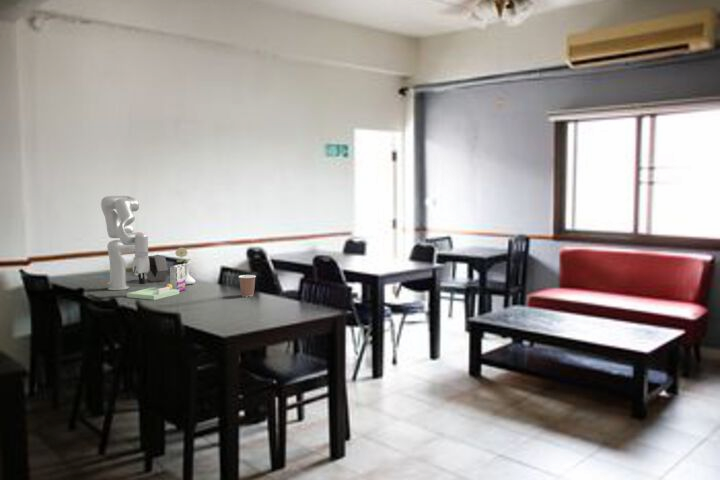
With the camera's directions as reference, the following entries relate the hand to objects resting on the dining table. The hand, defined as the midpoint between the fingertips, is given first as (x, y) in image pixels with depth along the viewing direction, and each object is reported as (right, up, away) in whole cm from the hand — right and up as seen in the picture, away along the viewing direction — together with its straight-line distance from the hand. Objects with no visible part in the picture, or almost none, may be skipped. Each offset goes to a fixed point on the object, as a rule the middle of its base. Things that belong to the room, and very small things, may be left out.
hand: (141, 283), depth 376 cm
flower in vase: (+15, -3, +42) cm, 44 cm away
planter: (-9, -2, +56) cm, 56 cm away
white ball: (+12, -7, -5) cm, 15 cm away
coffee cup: (+65, -7, -1) cm, 65 cm away
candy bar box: (+18, -6, +14) cm, 24 cm away
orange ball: (+16, -4, +2) cm, 17 cm away
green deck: (+7, -7, -1) cm, 10 cm away
